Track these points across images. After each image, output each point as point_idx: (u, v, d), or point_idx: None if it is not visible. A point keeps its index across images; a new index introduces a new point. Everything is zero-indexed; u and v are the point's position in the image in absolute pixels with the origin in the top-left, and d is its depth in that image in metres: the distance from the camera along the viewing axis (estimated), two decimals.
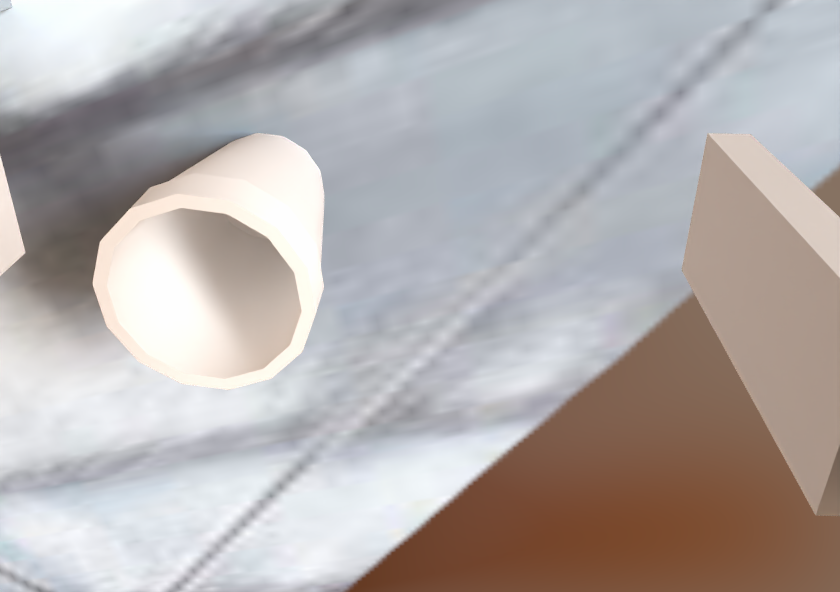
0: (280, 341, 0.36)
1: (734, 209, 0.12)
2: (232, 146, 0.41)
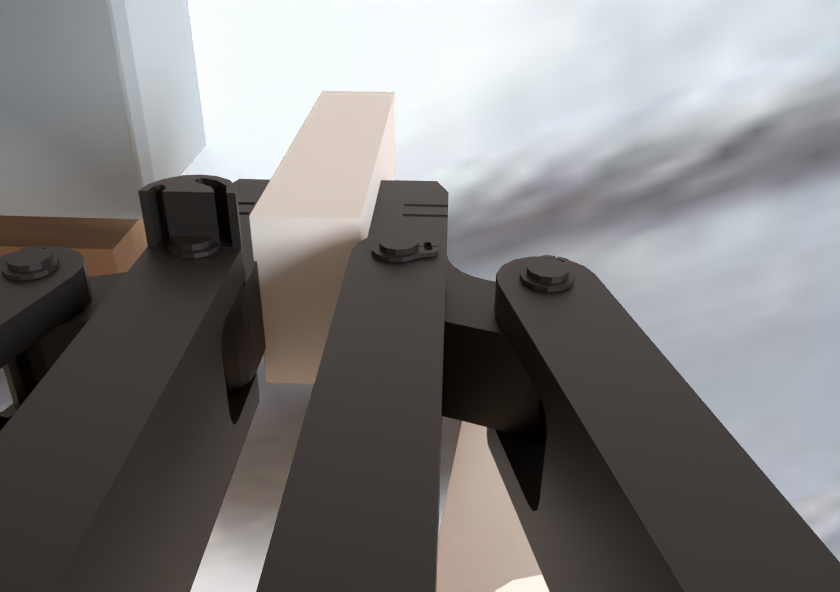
0: None
1: None
2: None
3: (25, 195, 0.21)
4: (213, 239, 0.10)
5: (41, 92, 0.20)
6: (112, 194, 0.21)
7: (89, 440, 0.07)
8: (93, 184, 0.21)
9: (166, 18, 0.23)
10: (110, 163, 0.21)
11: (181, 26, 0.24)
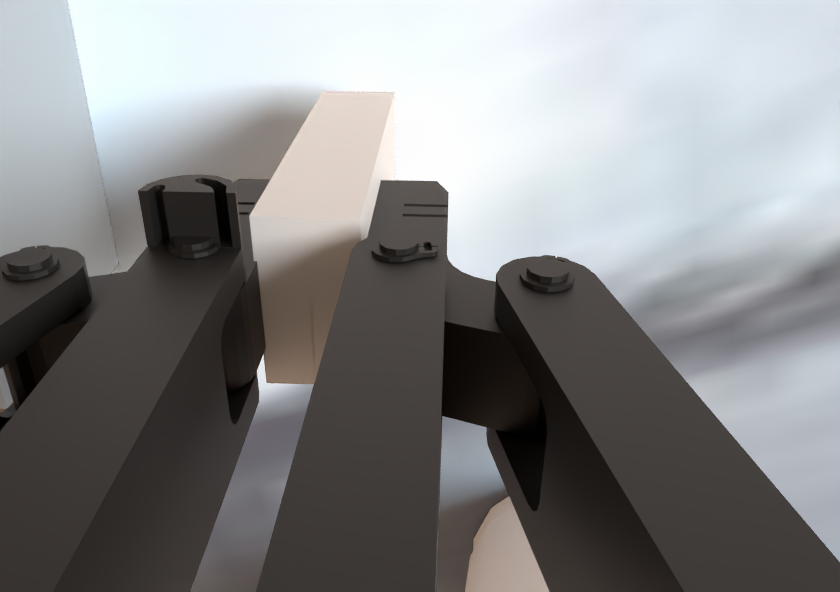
0: None
1: None
2: None
3: None
4: (213, 239, 0.10)
5: None
6: None
7: (87, 440, 0.07)
8: None
9: (42, 112, 0.16)
10: None
11: (71, 116, 0.17)
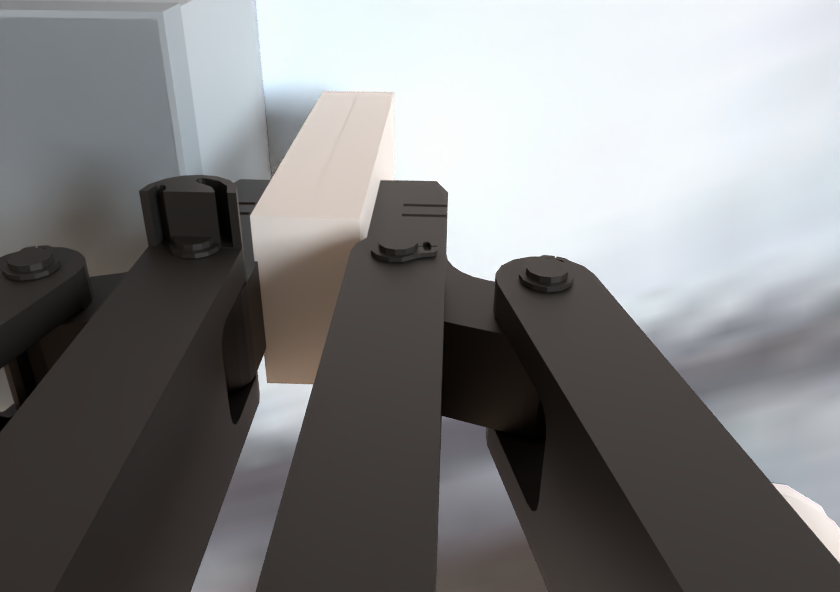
0: None
1: None
2: None
3: None
4: (214, 239, 0.10)
5: None
6: None
7: (89, 440, 0.07)
8: None
9: (240, 116, 0.16)
10: None
11: (255, 121, 0.17)
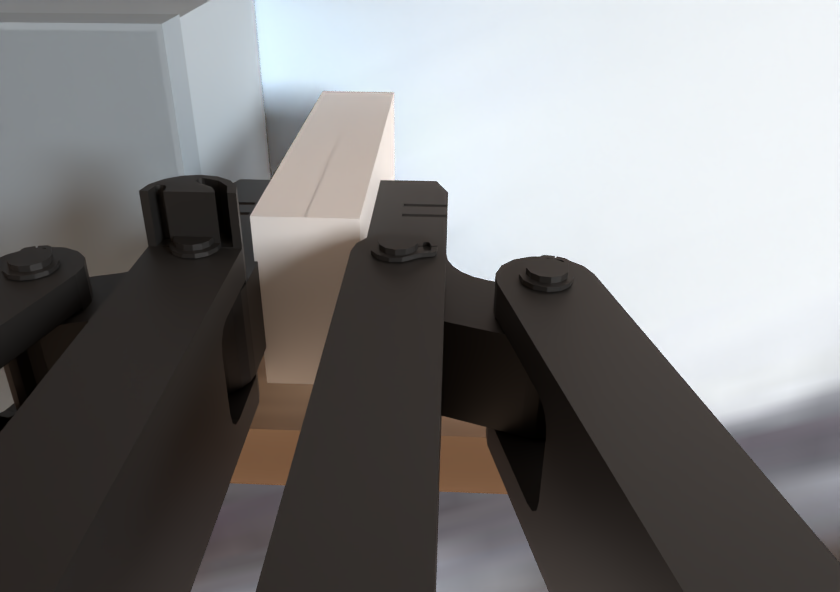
0: None
1: None
2: None
3: None
4: (214, 239, 0.10)
5: None
6: None
7: (89, 440, 0.07)
8: None
9: (240, 124, 0.16)
10: None
11: (255, 129, 0.17)
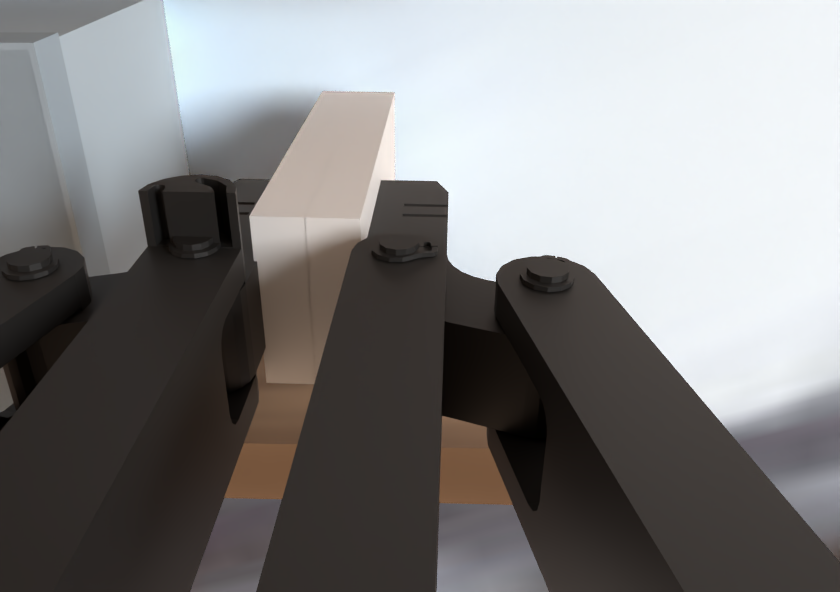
0: None
1: None
2: None
3: None
4: (213, 239, 0.10)
5: None
6: None
7: (87, 441, 0.07)
8: None
9: (148, 138, 0.16)
10: None
11: (170, 141, 0.17)
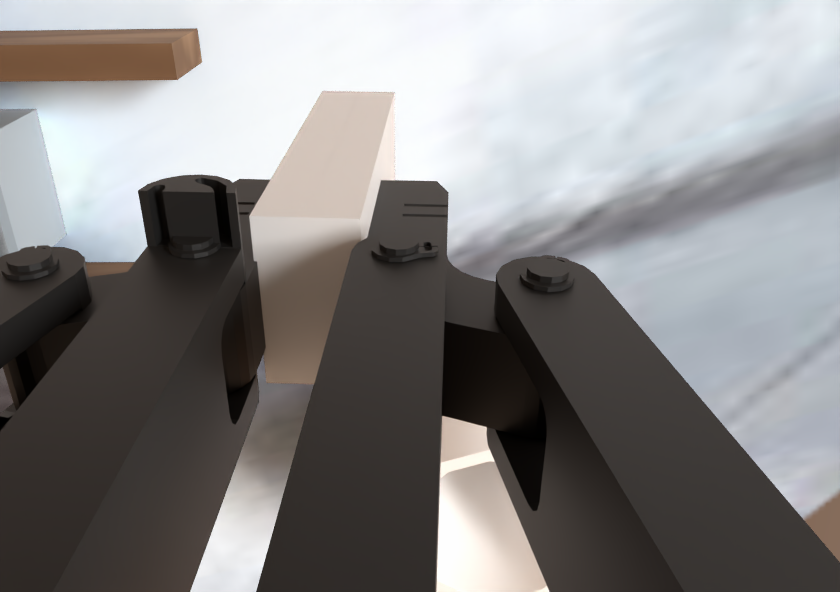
0: None
1: None
2: None
3: None
4: (213, 239, 0.10)
5: None
6: None
7: (87, 441, 0.07)
8: None
9: (29, 168, 0.40)
10: None
11: (42, 169, 0.41)
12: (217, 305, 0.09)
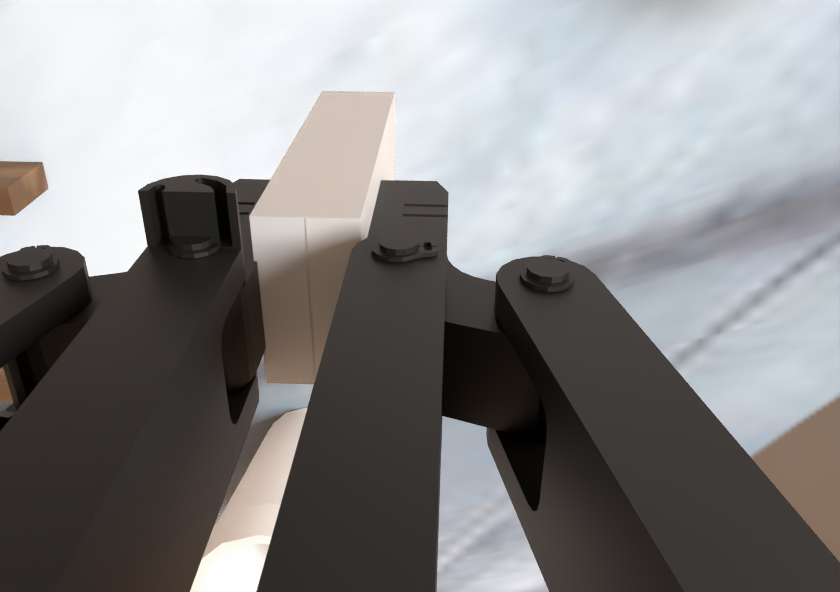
0: None
1: None
2: (287, 433, 0.50)
3: None
4: (214, 239, 0.10)
5: None
6: None
7: (89, 441, 0.07)
8: None
9: None
10: None
11: None
12: (217, 305, 0.09)
